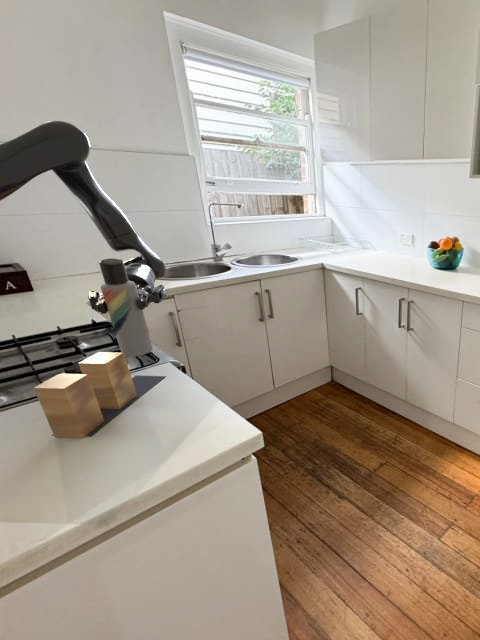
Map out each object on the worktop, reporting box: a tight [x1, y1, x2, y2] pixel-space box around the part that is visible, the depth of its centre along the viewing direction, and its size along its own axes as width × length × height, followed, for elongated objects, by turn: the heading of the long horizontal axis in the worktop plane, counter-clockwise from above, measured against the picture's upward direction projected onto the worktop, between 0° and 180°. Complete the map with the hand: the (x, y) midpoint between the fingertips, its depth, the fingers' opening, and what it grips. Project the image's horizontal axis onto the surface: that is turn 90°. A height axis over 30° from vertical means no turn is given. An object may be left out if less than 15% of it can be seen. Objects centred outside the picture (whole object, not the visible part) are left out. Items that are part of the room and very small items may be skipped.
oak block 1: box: [33, 373, 104, 439], centre depth 67 cm, size 5×5×10 cm
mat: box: [51, 375, 167, 438], centre depth 77 cm, size 22×7×1 cm, turn 0°
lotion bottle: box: [98, 258, 154, 358], centre depth 79 cm, size 6×6×20 cm
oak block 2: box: [78, 351, 137, 409], centre depth 75 cm, size 5×5×10 cm
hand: (121, 307), depth 76 cm, fingers closed on lotion bottle, 5 cm apart
